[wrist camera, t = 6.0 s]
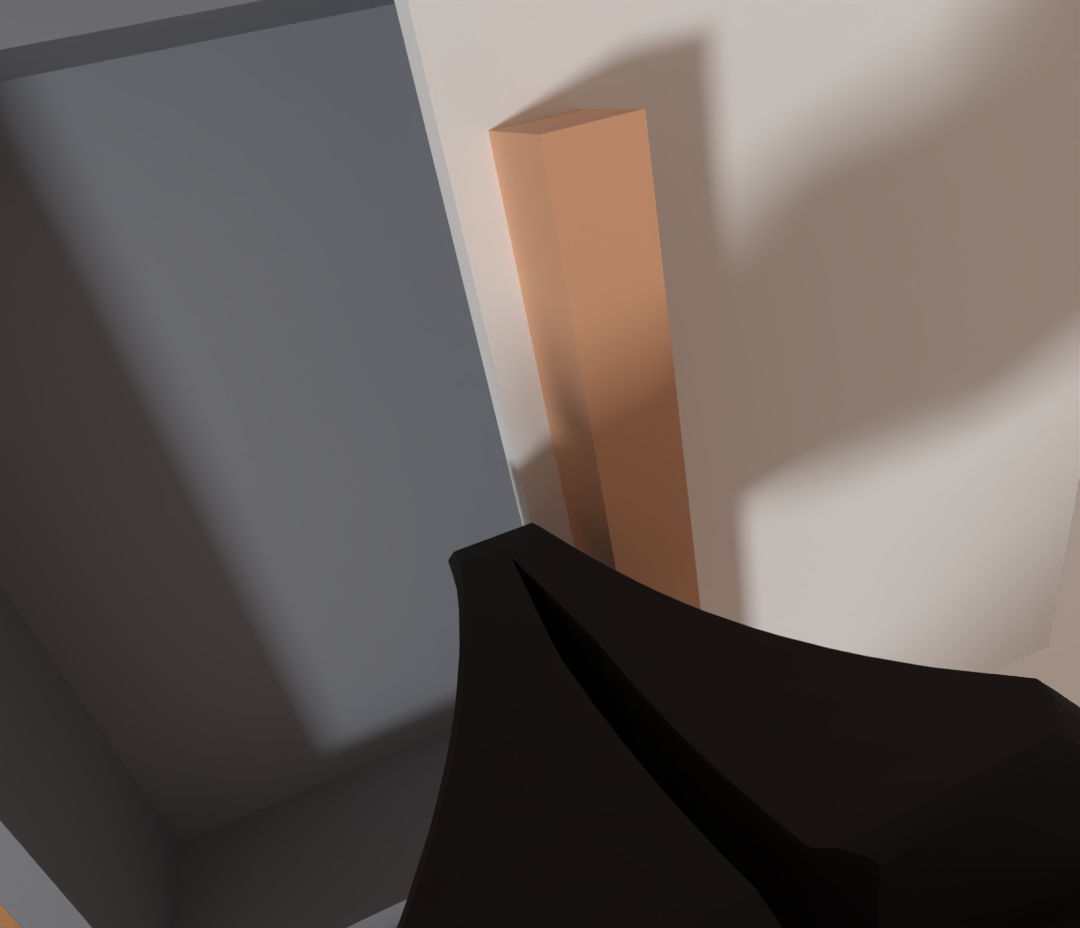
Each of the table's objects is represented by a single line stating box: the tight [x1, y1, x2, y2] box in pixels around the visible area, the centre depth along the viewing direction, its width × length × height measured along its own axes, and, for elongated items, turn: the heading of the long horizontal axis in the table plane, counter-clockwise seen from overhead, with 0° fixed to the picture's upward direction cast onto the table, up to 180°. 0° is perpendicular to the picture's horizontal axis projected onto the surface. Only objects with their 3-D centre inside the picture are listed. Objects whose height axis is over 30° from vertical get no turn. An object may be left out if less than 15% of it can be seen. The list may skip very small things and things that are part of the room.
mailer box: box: [0, 0, 522, 928], centre depth 13 cm, size 19×12×6 cm, turn 12°
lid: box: [394, 0, 1080, 674], centre depth 13 cm, size 17×12×2 cm
